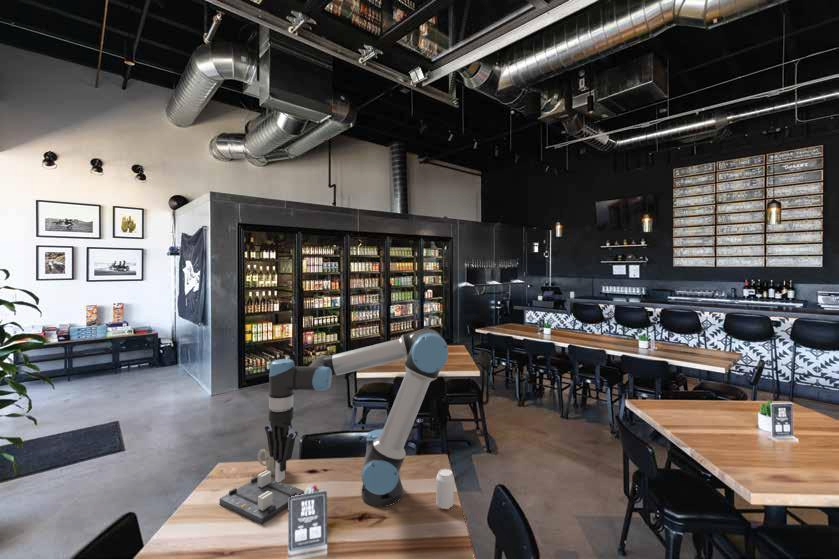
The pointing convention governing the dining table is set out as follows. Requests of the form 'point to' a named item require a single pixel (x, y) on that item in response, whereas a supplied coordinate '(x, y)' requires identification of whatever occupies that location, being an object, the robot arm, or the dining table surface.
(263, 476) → the fader
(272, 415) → the robot arm
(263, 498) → the fader
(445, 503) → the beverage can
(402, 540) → the dining table surface
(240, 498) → the console
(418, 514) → the dining table surface
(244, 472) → the dining table surface
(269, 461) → the mug
